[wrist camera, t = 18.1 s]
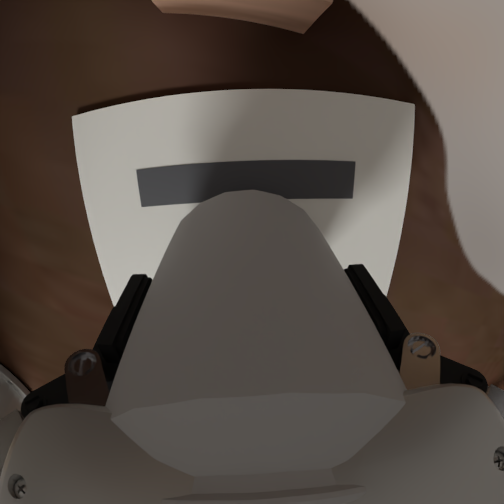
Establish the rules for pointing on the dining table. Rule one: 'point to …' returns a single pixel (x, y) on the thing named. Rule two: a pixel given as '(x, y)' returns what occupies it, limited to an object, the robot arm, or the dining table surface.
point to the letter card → (245, 169)
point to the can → (254, 359)
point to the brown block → (253, 11)
